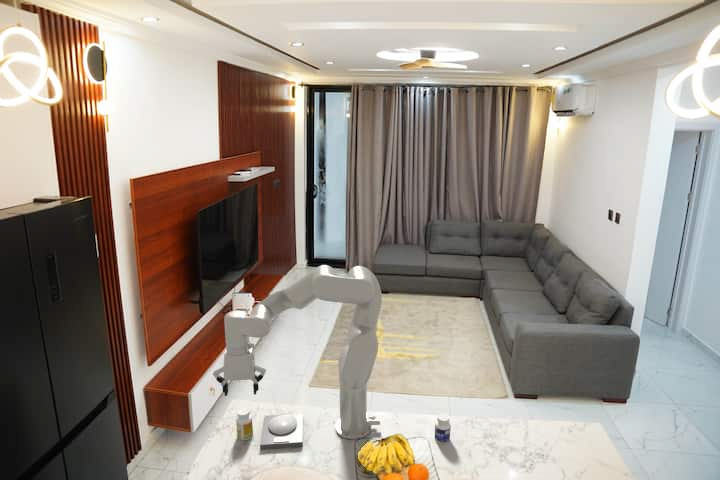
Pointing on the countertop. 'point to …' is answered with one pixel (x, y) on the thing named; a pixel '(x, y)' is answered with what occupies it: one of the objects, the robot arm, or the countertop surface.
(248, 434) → the supplement bottle
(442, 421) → the pill bottle
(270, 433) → the scale
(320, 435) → the countertop surface
